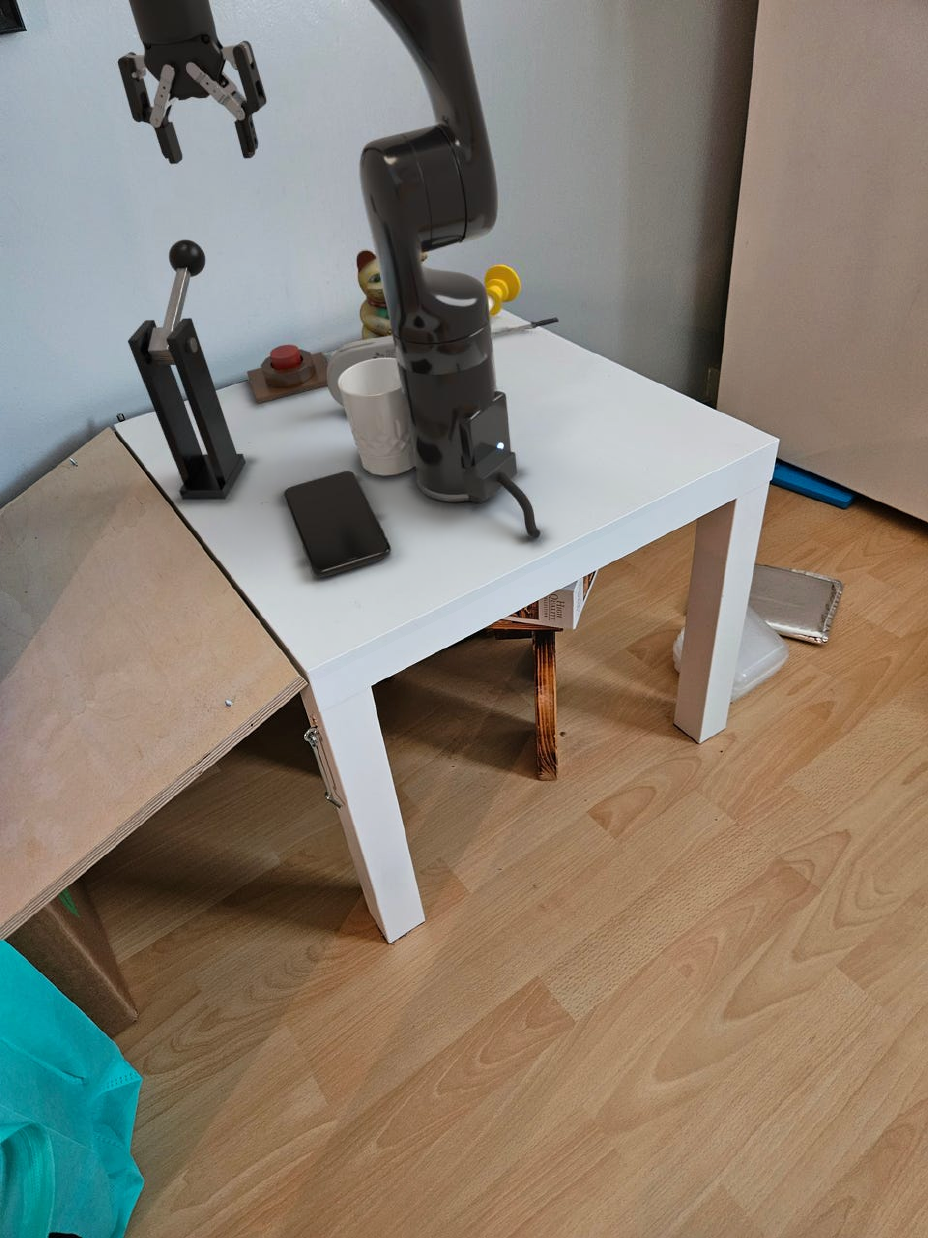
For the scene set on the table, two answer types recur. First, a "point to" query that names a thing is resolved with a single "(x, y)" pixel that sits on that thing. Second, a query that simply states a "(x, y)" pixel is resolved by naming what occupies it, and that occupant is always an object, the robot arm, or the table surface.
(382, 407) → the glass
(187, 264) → the tap lever
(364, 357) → the white rounded panel
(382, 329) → the decorative figurine
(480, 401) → the robot arm
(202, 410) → the bracket
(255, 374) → the button block
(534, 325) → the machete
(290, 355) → the button
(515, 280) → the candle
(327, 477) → the smartphone
